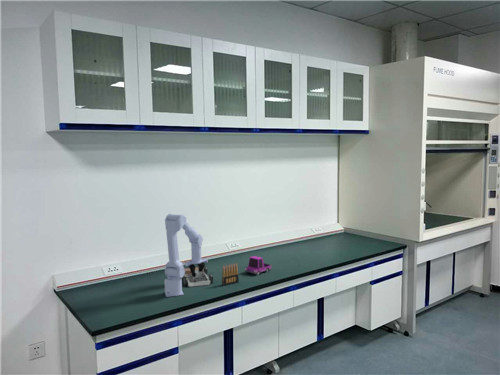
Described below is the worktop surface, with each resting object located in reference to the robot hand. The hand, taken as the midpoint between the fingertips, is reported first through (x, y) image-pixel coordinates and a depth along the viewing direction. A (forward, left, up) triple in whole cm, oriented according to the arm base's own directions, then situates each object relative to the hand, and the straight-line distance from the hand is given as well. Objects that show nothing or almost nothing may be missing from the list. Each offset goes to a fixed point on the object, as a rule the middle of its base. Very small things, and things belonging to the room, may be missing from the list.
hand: (196, 275), depth 247 cm
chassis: (0, +3, -3) cm, 5 cm away
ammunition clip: (+18, -11, -4) cm, 21 cm away
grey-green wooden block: (0, -1, -2) cm, 2 cm away
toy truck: (+41, +6, -4) cm, 42 cm away
